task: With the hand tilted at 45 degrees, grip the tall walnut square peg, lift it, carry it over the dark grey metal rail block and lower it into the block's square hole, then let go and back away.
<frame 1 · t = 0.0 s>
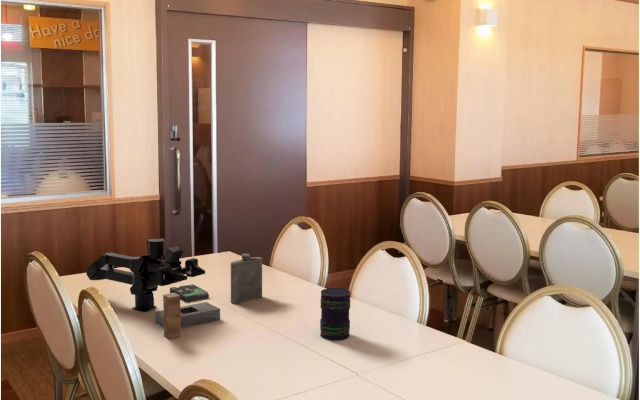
hand: (196, 275, 233), 17 cm above the table, tool horizontal, fingers open, 9 cm apart
storage jar: (334, 336, 223), on the table
rail block: (187, 321, 235), on the table
flask: (246, 300, 262), on the table
disk drive: (189, 297, 267), on the table
walnut peg: (172, 336, 220), on the table
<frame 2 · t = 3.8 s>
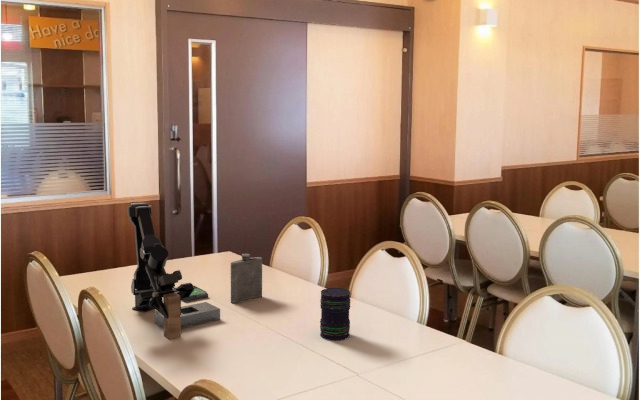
hand: (174, 316, 218), 7 cm above the table, tool tilted 45°, fingers closed on walnut peg, 4 cm apart
walnut peg: (172, 336, 220), on the table, touching gripper
everything else where it was.
when the fingers open (9 cm above the table, at t = 7.8 s): walnut peg drops 2 cm, resting in rail block.
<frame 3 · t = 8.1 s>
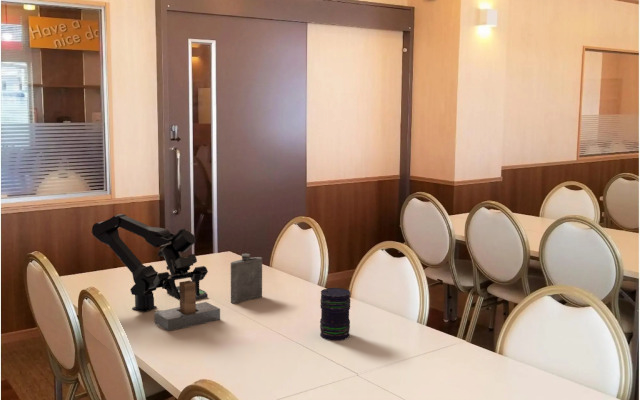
hand: (189, 297, 233), 9 cm above the table, tool tilted 45°, fingers open, 7 cm apart
walnut peg: (187, 321, 235), resting in rail block
everything else where it was.
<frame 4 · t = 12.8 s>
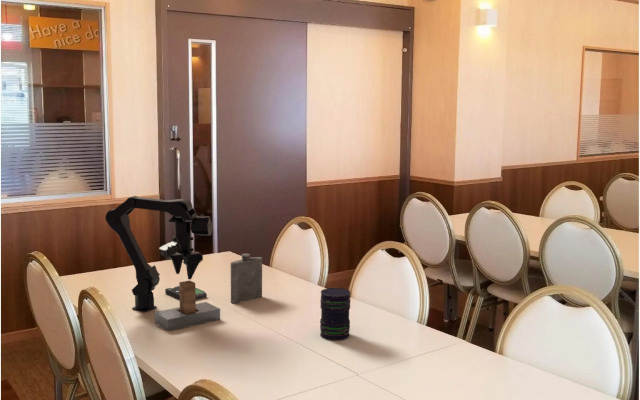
hand: (183, 276, 245), 13 cm above the table, tool pointing down, fingers open, 9 cm apart
at the end: walnut peg 0.0 cm off-centre on the rail block, point 0.0 cm above the rail block's base; walnut peg tilted 0°; the gripper is holding nothing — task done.
